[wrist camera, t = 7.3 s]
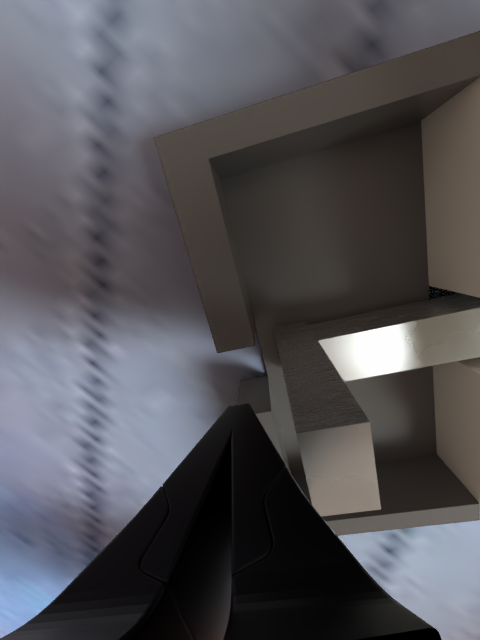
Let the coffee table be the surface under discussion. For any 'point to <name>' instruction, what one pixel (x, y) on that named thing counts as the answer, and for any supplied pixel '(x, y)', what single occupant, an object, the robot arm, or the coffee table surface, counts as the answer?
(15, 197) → the coffee table surface
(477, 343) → the slider
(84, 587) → the robot arm
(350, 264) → the track
